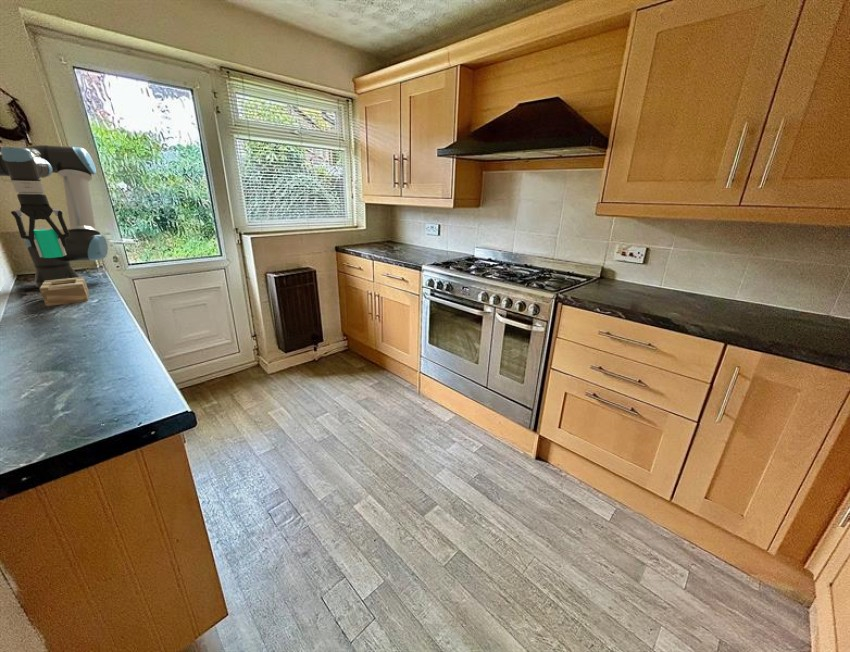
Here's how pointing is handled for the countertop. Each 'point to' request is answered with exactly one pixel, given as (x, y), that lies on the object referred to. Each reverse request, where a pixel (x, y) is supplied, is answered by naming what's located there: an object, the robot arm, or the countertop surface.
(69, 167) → the robot arm
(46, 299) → the box
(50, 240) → the candle
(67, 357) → the countertop surface
